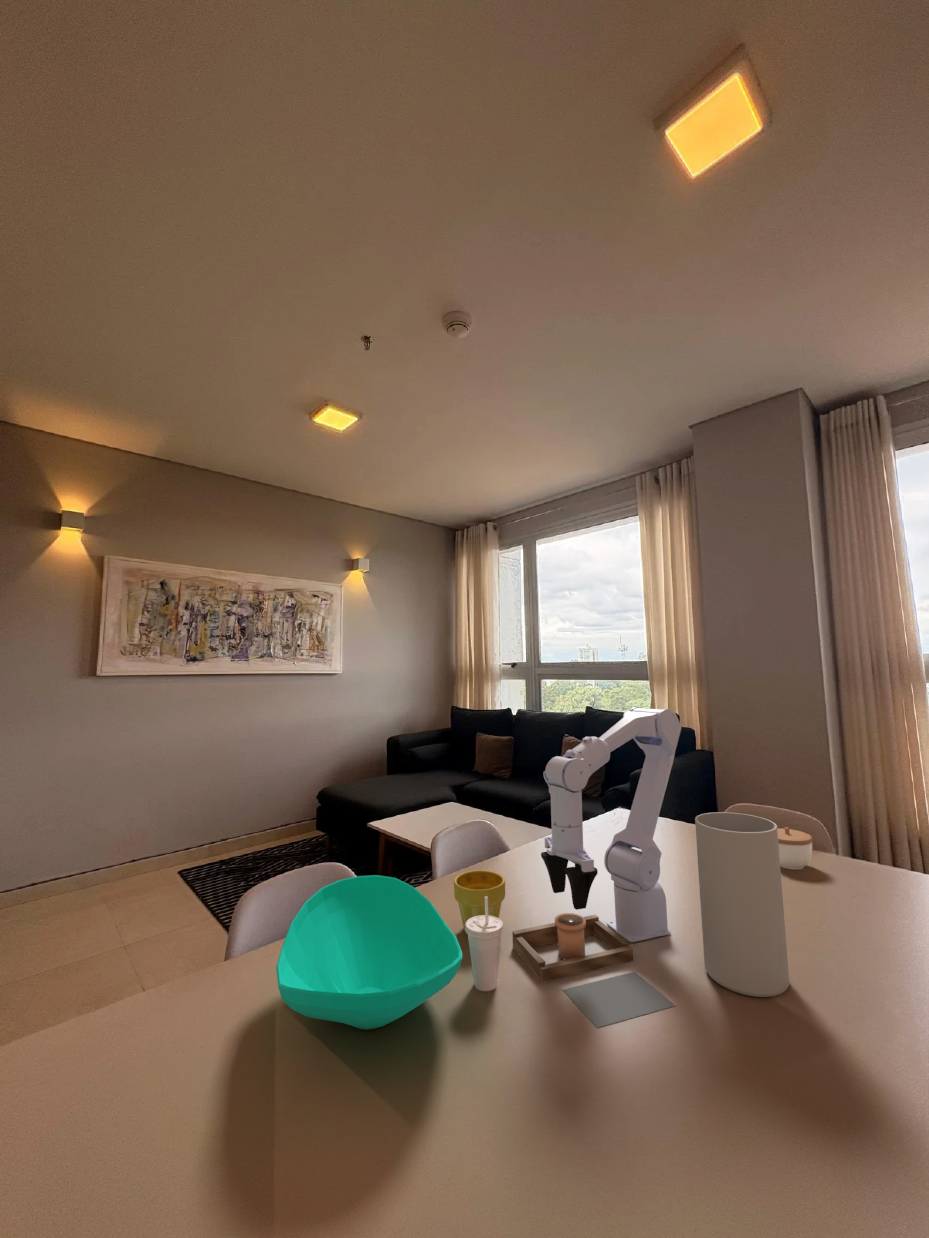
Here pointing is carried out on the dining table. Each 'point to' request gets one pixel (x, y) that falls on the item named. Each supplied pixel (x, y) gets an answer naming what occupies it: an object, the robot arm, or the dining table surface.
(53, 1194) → the dining table surface
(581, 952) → the terracotta pot
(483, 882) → the plant pot
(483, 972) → the smoothie
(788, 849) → the lidded jar
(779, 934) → the cylinder vase
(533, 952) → the cold frame
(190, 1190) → the dining table surface
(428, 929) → the table top decor
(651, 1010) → the potting mat
